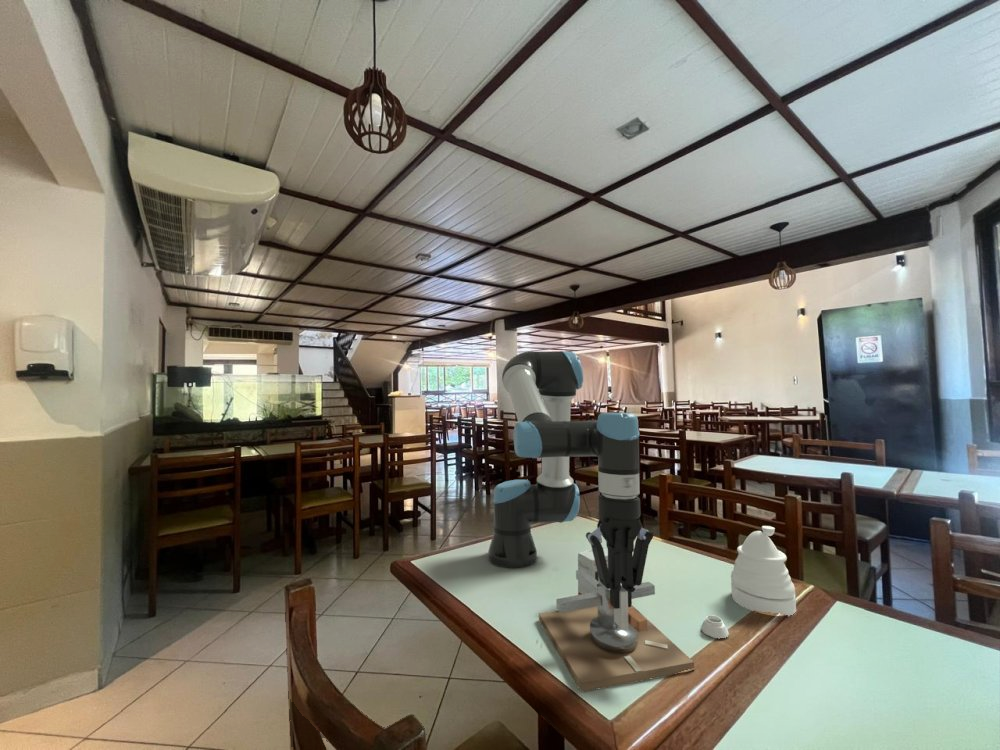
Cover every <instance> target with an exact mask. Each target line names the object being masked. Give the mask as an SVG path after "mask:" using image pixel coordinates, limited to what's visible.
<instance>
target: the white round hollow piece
mask: <svg viewBox="0 0 1000 750" xmlns="http://www.w3.org/2000/svg"><path fill="white" fill-rule="evenodd" d="M700 627H701V631H702V632H703V633H704V634H705V635H706V636H708V637H711V638H714V639H717V638H718V639H719V640H721V639H720V638H725V639H727V638H728V637H729V636H730V634H729V633H730V632H729V630H728V628H727V626H726V625H725V623H724V622H723V619H722V618H721V617H719V616H717V615H714V614H709V615H707V616H705V618H704V620H703V622H702V623H701V625H700ZM728 635H729V636H728ZM726 637H727V638H726ZM718 639H717V640H718Z"/></svg>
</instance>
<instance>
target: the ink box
mask: <svg viewBox="0 0 1000 750" xmlns="http://www.w3.org/2000/svg"><path fill="white" fill-rule="evenodd" d="M603 550H604V554H605V559H606V563H607V567H608V548H604V547H603ZM577 570H584V571H586V572H587V573H588V574H589V575H591V576H592V577H593V578H594V579H596V580H597V581H598V582H600V580H599V576H598V572H597V567H596V563H595V559H594V555H593V551H592V548H590V549H587V550H583V551H581V552H578V553H577ZM586 593H592V592H591V591H590V590H589V589H588V588H587V587H585V586H584V585H583V584H582V583H581V582H579V581H578V580H577V595H581V594H586Z"/></svg>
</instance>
